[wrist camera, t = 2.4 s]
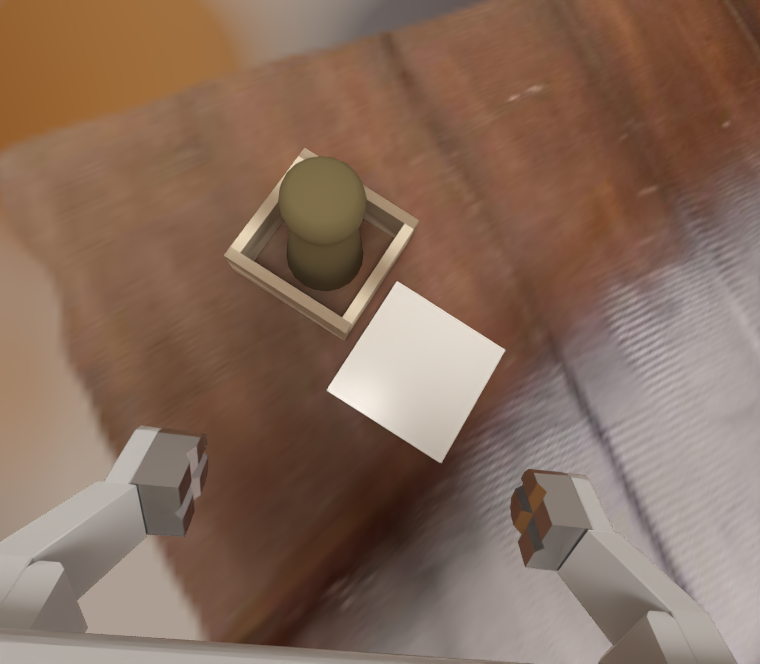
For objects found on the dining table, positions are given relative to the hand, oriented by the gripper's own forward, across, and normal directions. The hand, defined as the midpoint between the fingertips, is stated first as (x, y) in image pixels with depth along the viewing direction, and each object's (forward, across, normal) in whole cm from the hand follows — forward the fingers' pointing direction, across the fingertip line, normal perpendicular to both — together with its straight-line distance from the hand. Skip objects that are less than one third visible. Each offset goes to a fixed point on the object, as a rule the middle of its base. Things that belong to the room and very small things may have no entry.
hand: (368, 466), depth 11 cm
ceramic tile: (+20, -5, +12) cm, 24 cm away
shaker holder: (+26, +3, +6) cm, 27 cm away
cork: (+26, +3, +6) cm, 27 cm away
